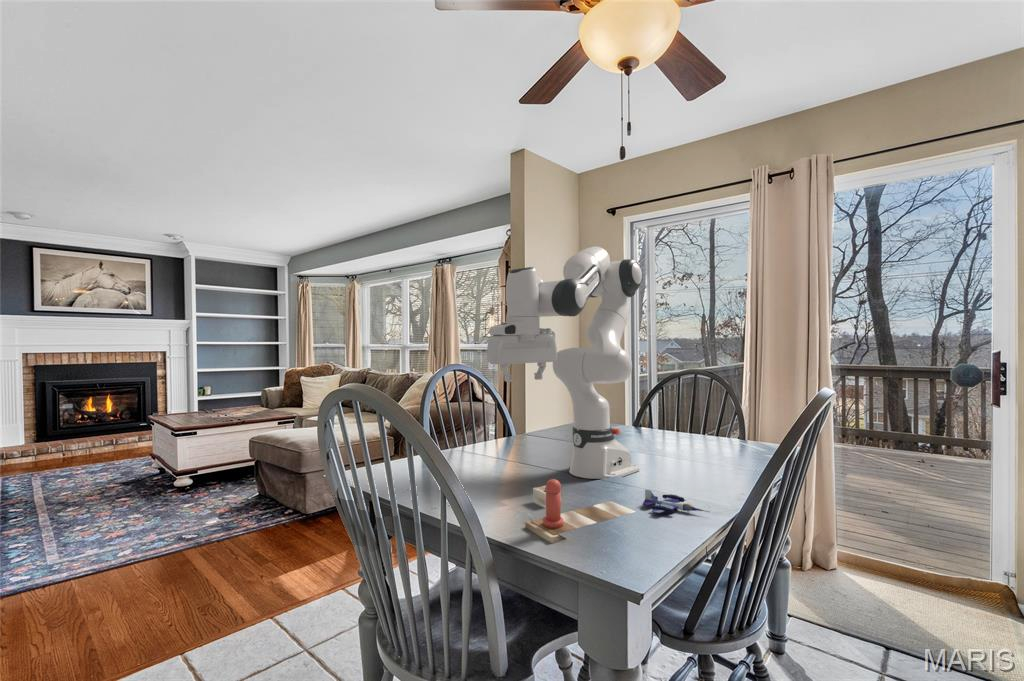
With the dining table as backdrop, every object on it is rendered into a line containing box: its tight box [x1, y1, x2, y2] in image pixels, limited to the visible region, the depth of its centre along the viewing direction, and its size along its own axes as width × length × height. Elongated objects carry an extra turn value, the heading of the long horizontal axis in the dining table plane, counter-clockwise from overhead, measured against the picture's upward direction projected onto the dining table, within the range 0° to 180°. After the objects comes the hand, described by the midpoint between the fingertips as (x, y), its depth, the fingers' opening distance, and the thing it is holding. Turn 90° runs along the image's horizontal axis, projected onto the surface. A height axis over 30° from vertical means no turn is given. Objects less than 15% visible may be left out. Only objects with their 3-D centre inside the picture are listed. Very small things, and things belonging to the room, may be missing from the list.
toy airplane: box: [641, 489, 710, 515], centre depth 114 cm, size 13×14×4 cm
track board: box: [524, 500, 637, 544], centre depth 111 cm, size 26×10×1 cm, turn 121°
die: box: [532, 485, 562, 509], centre depth 120 cm, size 5×5×5 cm
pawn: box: [542, 478, 563, 529], centre depth 106 cm, size 4×4×10 cm
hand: (523, 380), depth 128 cm, fingers open, 8 cm apart
